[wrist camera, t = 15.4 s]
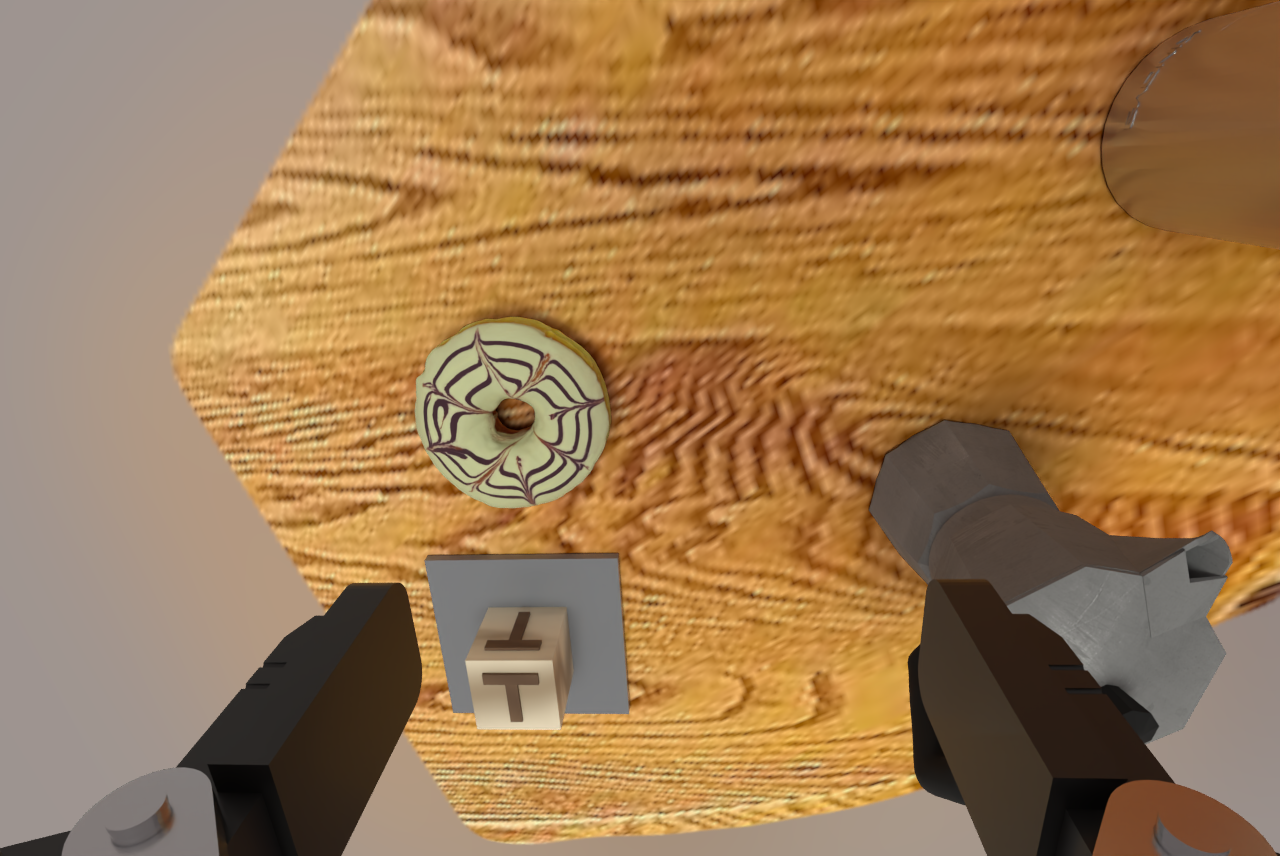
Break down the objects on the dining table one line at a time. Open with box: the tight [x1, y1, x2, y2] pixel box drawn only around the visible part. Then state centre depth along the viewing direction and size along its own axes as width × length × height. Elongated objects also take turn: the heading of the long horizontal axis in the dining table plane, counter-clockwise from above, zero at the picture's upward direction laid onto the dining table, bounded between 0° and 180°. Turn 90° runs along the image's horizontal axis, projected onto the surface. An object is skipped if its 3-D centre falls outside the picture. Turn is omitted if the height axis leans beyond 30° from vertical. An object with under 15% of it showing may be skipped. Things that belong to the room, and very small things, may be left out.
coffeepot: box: [869, 420, 1233, 805], centre depth 32 cm, size 15×9×18 cm, turn 149°
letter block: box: [465, 607, 574, 730], centre depth 43 cm, size 5×5×5 cm
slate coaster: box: [425, 553, 630, 714], centre depth 45 cm, size 12×12×1 cm
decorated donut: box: [415, 317, 611, 508], centre depth 38 cm, size 10×11×4 cm
